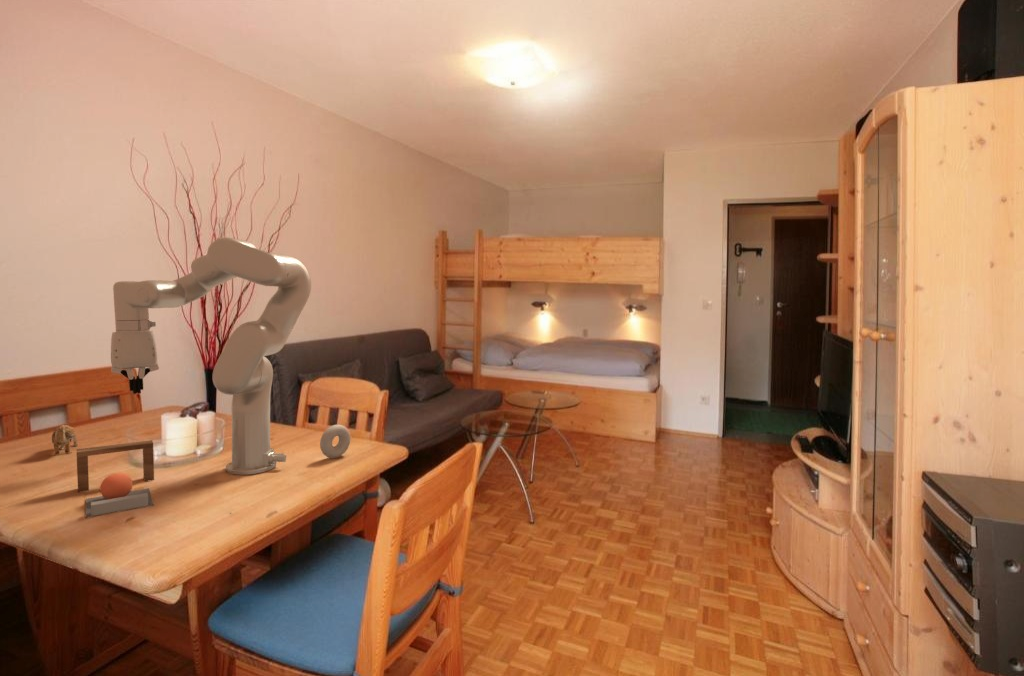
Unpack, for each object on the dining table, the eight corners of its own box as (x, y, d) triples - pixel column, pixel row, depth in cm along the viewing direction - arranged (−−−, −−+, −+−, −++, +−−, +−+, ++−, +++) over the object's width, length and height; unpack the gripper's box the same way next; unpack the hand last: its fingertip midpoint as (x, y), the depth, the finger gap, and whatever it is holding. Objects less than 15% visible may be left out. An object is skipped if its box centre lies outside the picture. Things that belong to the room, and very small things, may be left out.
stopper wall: (91, 513, 114) (91, 502, 114) (147, 503, 120) (147, 492, 120) (91, 516, 112) (91, 505, 112) (148, 506, 119) (148, 495, 118)
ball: (138, 470, 124) (137, 495, 122) (124, 479, 126) (123, 503, 124) (109, 468, 119) (108, 494, 117) (95, 478, 122) (93, 503, 119)
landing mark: (85, 499, 121) (85, 498, 121) (149, 489, 129) (149, 488, 128) (85, 517, 112) (85, 517, 112) (153, 505, 119) (153, 504, 119)
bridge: (78, 488, 127) (76, 449, 127) (152, 476, 137) (152, 440, 136) (78, 492, 125) (76, 452, 124) (154, 479, 134) (153, 442, 134)
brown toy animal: (76, 456, 151) (74, 425, 150) (51, 459, 148) (50, 428, 147) (78, 443, 162) (77, 415, 162) (55, 446, 159) (54, 417, 159)
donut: (324, 462, 152) (324, 428, 151) (317, 460, 154) (317, 426, 153) (352, 454, 160) (353, 422, 159) (345, 452, 162) (345, 420, 161)
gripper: (163, 325, 152) (166, 388, 153) (97, 327, 142) (101, 394, 143) (167, 326, 146) (170, 391, 147) (98, 328, 136) (103, 398, 138)
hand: (136, 392), depth 145 cm, fingers closed
